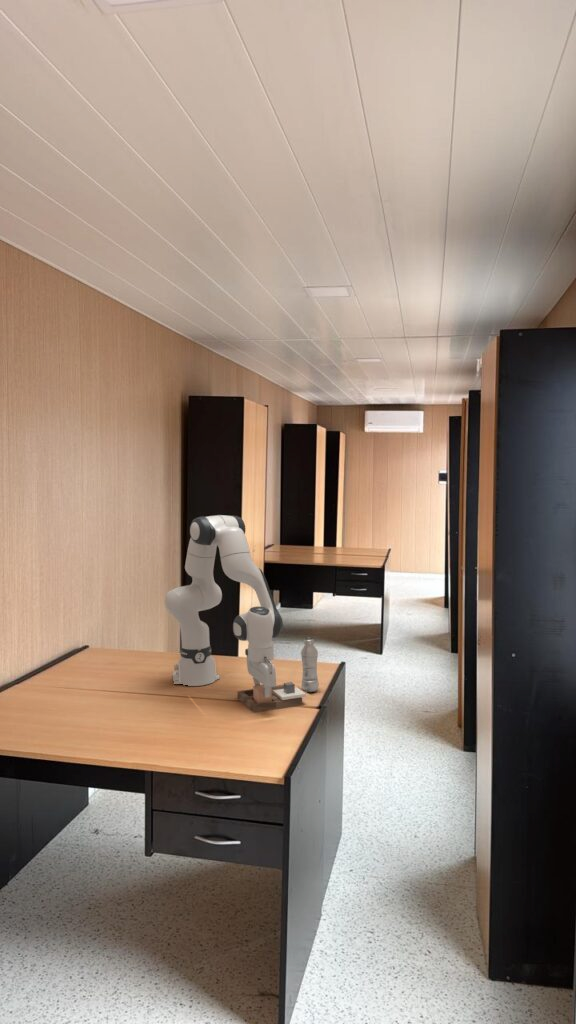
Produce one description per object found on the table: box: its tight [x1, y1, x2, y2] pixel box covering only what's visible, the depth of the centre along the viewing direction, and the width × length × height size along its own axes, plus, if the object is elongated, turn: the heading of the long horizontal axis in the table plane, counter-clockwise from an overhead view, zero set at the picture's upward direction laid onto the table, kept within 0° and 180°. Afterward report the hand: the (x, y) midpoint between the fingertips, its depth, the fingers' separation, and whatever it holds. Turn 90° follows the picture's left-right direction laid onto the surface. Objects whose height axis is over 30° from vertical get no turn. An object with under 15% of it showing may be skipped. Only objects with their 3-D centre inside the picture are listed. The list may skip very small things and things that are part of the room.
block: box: [252, 684, 272, 704], centre depth 261 cm, size 5×5×7 cm
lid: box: [273, 681, 307, 700], centre depth 265 cm, size 9×9×4 cm
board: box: [236, 684, 303, 713], centre depth 267 cm, size 18×18×4 cm
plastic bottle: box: [300, 637, 320, 693], centre depth 280 cm, size 6×7×20 cm
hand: (262, 693), depth 261 cm, fingers open, 8 cm apart
